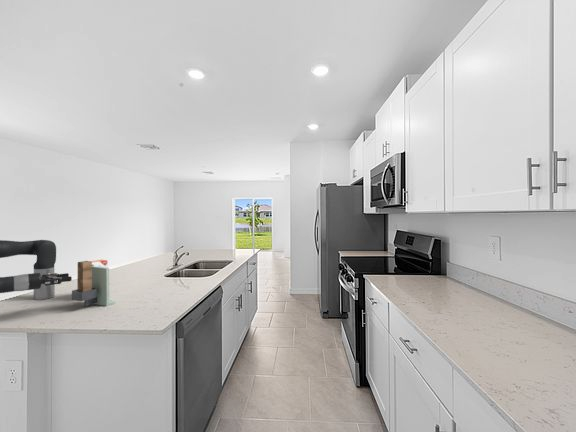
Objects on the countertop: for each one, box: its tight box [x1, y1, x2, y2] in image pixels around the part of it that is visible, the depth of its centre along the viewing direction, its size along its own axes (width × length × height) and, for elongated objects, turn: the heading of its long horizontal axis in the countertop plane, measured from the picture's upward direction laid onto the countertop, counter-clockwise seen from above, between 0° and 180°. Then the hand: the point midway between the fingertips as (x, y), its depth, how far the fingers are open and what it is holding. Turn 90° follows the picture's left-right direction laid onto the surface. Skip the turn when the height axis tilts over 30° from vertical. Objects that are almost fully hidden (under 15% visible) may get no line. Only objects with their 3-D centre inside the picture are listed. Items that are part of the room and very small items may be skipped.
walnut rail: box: [77, 260, 93, 292], centre depth 152 cm, size 4×4×18 cm
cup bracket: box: [71, 266, 117, 307], centre depth 155 cm, size 16×15×20 cm
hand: (70, 276), depth 148 cm, fingers open, 8 cm apart
